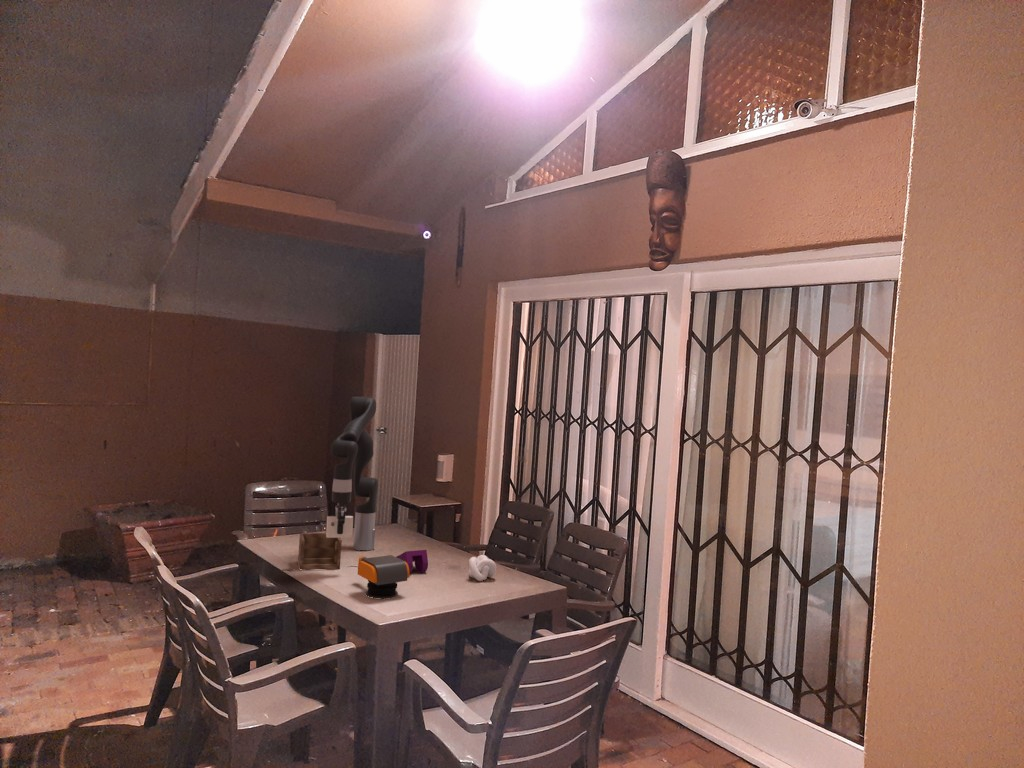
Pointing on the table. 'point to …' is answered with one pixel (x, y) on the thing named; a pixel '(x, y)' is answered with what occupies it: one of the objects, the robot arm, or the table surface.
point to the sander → (383, 575)
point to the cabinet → (319, 551)
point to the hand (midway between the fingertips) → (339, 532)
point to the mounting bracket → (415, 560)
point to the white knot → (481, 567)
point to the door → (332, 527)
